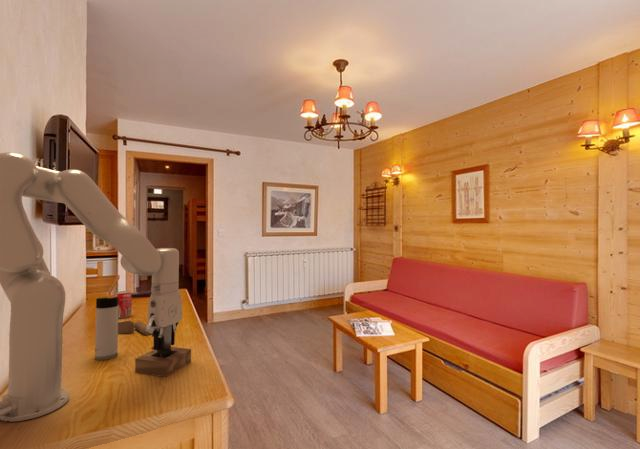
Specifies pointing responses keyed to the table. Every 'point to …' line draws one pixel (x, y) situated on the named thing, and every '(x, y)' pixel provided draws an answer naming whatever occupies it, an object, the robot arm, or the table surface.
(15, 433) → the table surface
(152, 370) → the brown hollow tray
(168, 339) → the round metal rod
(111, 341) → the travel mug
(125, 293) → the soda can
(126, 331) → the wooden block set
